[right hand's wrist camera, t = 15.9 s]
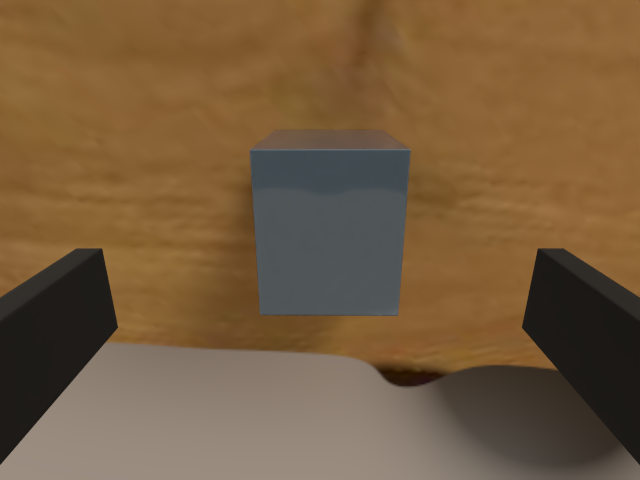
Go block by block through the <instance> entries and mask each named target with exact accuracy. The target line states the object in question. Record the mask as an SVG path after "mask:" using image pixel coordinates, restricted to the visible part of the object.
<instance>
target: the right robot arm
mask: <svg viewBox="0 0 640 480" xmlns="http://www.w3.org/2000/svg"><path fill="white" fill-rule="evenodd" d="M117 328H118V325H117V320H116V315H115V310H114V305H113V300H112V296H111V291H110V286H109V281H108V276H107V271H106V266H105V261H104V256H103V251H102V249H75V250H74V251H72V252H70V253H69V254H67V255H66V256H64V257H63V258H61V259H60V260H58V261H56V262H55V263H53V264H52V265H50V266H49V267H47V268H46V269H44V270H42V271H41V272H39V273H38V274H36V275H35V276H33V277H32V278H30V279H29V280H27V281H25V282H24V283H22V284H21V285H19V286H18V287H16V288H15V289H13V290H11V291H10V292H8V293H7V294H5V295H4V296H2V297H1V298H0V464H1V463H2V462H3V461H4V460H5V459H6V457H7V456H8V455H9V454H10V453H11V452H12V451H13V449H14V448H15V447H16V446H17V445H18V444H19V442H20V441H21V440H22V439H23V438H24V437H25V435H26V434H27V433H28V432H29V431H30V430H31V428H32V427H33V426H34V425H35V424H36V423H37V421H38V420H39V419H40V418H41V417H42V416H43V414H44V413H45V412H46V411H47V410H48V409H49V407H50V406H51V405H52V404H53V403H54V402H55V400H56V399H57V398H58V397H59V396H60V395H61V393H62V392H63V391H64V390H65V389H66V388H67V386H68V385H69V384H70V383H71V382H72V381H73V379H74V378H75V377H76V376H77V375H78V374H79V372H80V371H81V370H82V369H83V368H84V367H85V365H86V364H87V363H88V362H89V361H90V360H91V358H92V357H93V356H94V355H95V354H96V353H97V351H98V350H99V349H100V348H101V347H102V346H103V344H104V343H105V342H106V341H107V340H108V339H109V337H110V336H111V335H112V334H113V333H114V332H115V330H116V329H117ZM522 328H523V329H524V330H525V332H526V333H527V334H528V335H529V336H530V337H531V339H532V340H533V341H534V342H535V343H536V344H537V346H538V347H539V348H540V349H541V350H542V351H543V353H544V354H545V355H546V356H547V357H548V358H549V360H550V361H551V362H552V363H553V364H554V365H555V367H556V368H557V369H558V370H559V371H560V372H561V374H562V375H563V376H564V377H565V378H566V379H567V381H568V382H569V383H570V384H571V385H572V386H573V388H574V389H575V390H576V391H577V392H578V393H579V395H580V396H581V397H582V398H583V399H584V400H585V402H586V403H587V404H588V405H589V406H590V407H591V409H592V410H593V411H594V412H595V413H596V414H597V416H598V417H599V418H600V419H601V420H602V421H603V423H604V424H605V425H606V426H607V427H608V428H609V430H610V431H611V432H612V433H613V434H614V435H615V437H616V438H617V439H618V440H619V441H620V442H621V444H622V445H623V446H624V447H625V448H626V449H627V451H628V452H629V453H630V454H631V455H632V456H633V458H634V459H635V460H636V461H637V462H638V463H639V464H640V298H639V297H638V296H636V295H635V294H633V293H632V292H630V291H629V290H627V289H625V288H624V287H622V286H621V285H619V284H618V283H616V282H615V281H613V280H611V279H610V278H608V277H607V276H605V275H604V274H602V273H601V272H599V271H597V270H596V269H594V268H593V267H591V266H590V265H588V264H587V263H585V262H584V261H582V260H580V259H579V258H577V257H576V256H574V255H573V254H571V253H570V252H568V251H566V250H565V249H538V251H537V256H536V261H535V266H534V271H533V276H532V281H531V286H530V291H529V295H528V300H527V305H526V310H525V315H524V320H523V325H522Z"/></svg>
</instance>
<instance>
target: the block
mask: <svg viewBox="0 0 640 480" xmlns="http://www.w3.org/2000/svg"><path fill="white" fill-rule="evenodd" d="M410 152H411V150H410V149H409V148H407V147H406V146H405V145H403V144H402V143H400V142H399V141H398V140H396V139H395V138H393V137H392V136H391V135H389V134H388V133H386V132H385V131H384V130H274V131H273V132H272V133H271V134H269V135H268V136H267V137H265V138H264V139H263V140H262V141H260V142H259V143H258V144H257V145H255V146H254V147H253V148H251V149H250V163H251V179H252V195H253V211H254V227H255V243H256V259H257V275H258V291H259V307H260V315H349V316H398V310H399V297H400V284H401V271H402V257H403V244H404V231H405V218H406V205H407V192H408V178H409V165H410Z"/></svg>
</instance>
